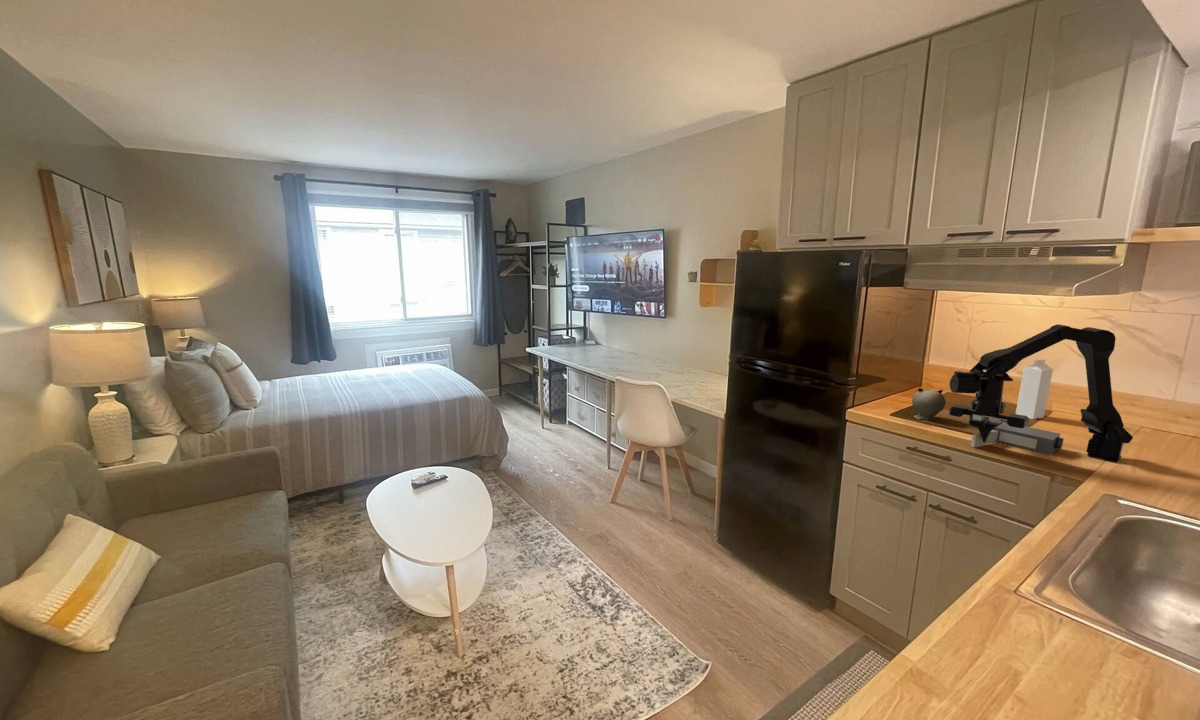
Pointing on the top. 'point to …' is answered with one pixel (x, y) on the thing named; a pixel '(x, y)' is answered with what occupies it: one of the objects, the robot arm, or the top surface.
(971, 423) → the supplement bottle
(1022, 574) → the top surface
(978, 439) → the side door
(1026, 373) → the milk
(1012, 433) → the grey rectangular box
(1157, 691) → the top surface
